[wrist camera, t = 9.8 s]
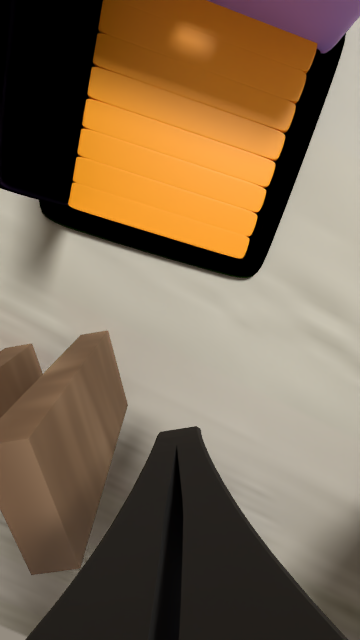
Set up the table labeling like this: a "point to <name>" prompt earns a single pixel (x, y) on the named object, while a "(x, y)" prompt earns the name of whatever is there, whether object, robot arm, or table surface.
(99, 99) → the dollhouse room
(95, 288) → the table surface
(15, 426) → the domino
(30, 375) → the domino
